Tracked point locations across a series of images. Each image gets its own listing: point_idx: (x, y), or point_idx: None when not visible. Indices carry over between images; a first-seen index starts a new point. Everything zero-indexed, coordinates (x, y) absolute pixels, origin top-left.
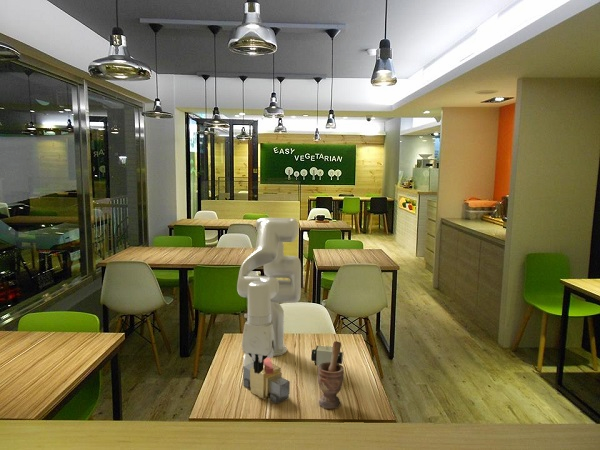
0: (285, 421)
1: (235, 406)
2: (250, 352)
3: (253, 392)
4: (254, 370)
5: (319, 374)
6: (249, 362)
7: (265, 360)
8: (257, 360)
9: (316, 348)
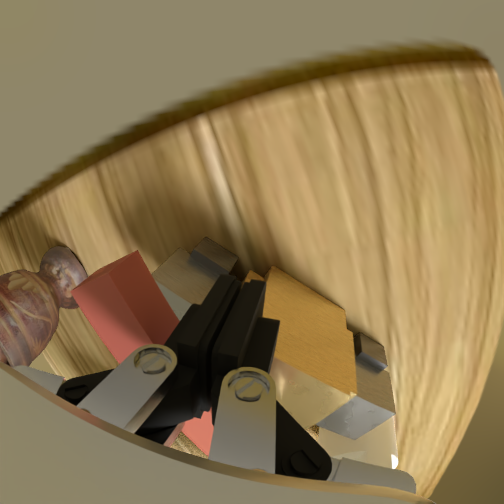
0: (130, 125)
1: (379, 178)
2: (242, 486)
3: (329, 303)
4: (261, 293)
5: (4, 314)
6: (373, 443)
7: (204, 418)
8: (216, 387)
9: None
